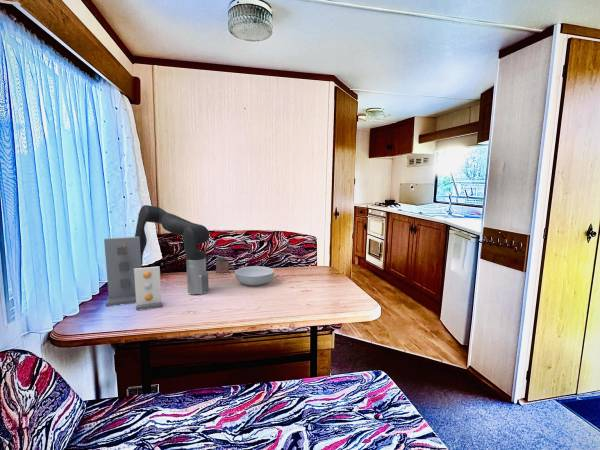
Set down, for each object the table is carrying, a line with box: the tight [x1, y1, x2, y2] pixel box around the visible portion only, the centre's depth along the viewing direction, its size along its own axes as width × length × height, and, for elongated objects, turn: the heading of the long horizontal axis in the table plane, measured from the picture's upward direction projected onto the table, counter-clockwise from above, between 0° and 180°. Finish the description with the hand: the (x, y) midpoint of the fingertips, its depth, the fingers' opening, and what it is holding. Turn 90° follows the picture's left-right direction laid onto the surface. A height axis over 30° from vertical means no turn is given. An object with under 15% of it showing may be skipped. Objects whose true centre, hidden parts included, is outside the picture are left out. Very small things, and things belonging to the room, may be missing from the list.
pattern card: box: [134, 266, 163, 311], centre depth 142 cm, size 6×10×18 cm, turn 113°
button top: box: [117, 246, 127, 255], centre depth 148 cm, size 9×4×4 cm, turn 23°
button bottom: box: [120, 279, 130, 288], centre depth 153 cm, size 9×4×4 cm, turn 23°
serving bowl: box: [234, 265, 275, 286], centre depth 176 cm, size 21×21×7 cm
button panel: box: [103, 236, 142, 307], centre depth 150 cm, size 14×15×29 cm
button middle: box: [119, 262, 128, 271], centre depth 152 cm, size 9×4×4 cm, turn 23°
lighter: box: [215, 256, 230, 275], centre depth 194 cm, size 8×3×10 cm, turn 84°
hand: (126, 278), depth 157 cm, fingers closed
